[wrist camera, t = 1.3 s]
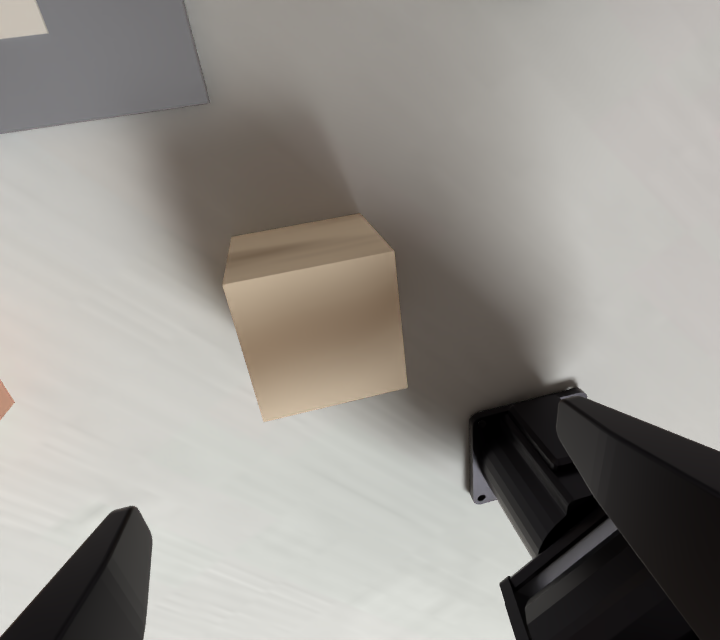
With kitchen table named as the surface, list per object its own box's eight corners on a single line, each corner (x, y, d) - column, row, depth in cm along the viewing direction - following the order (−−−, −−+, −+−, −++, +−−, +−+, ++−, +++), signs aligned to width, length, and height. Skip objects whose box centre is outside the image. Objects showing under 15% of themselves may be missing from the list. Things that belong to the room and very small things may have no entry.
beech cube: (373, 323, 20) (407, 387, 15) (262, 347, 19) (263, 422, 15) (359, 212, 17) (394, 251, 13) (231, 236, 17) (222, 284, 12)
